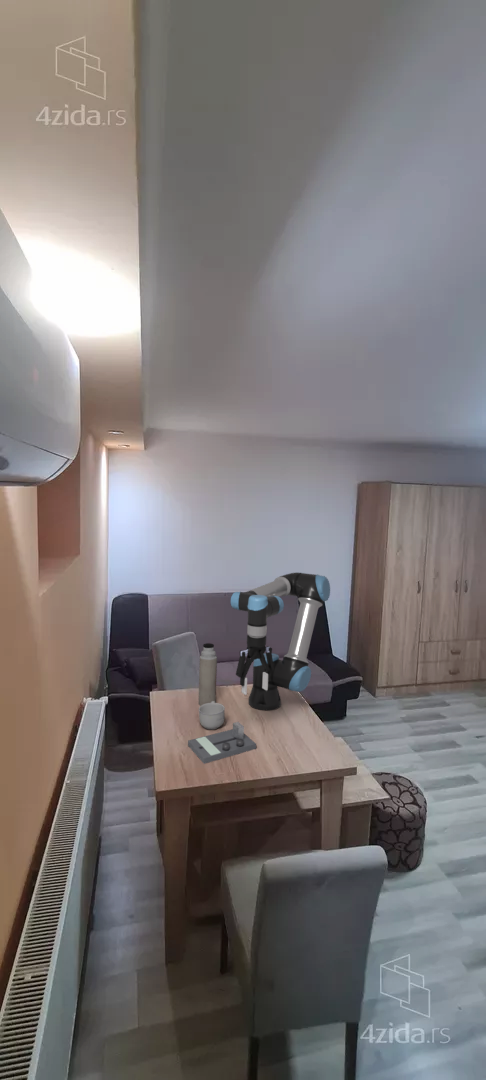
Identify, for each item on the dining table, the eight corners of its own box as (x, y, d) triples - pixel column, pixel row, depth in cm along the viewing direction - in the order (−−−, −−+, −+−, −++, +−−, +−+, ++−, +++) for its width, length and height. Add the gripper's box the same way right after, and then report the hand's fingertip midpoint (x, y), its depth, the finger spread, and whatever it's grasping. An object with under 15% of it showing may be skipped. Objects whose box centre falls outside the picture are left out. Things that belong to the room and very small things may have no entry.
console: (237, 732, 188) (237, 723, 188) (256, 748, 176) (256, 739, 176) (187, 745, 177) (188, 735, 176) (203, 763, 165) (204, 753, 164)
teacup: (220, 734, 186) (221, 714, 186) (194, 730, 189) (195, 711, 188) (228, 718, 200) (229, 700, 199) (204, 715, 202) (204, 697, 202)
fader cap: (237, 733, 182) (238, 721, 182) (243, 739, 178) (243, 726, 178) (232, 735, 181) (232, 722, 181) (238, 740, 177) (238, 727, 177)
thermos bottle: (216, 700, 218) (217, 642, 216) (215, 707, 210) (216, 647, 208) (199, 699, 218) (200, 641, 216) (197, 706, 210) (199, 646, 208)
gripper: (274, 629, 189) (272, 683, 191) (227, 635, 178) (225, 692, 180) (284, 634, 183) (282, 689, 184) (237, 641, 171) (235, 700, 173)
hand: (254, 691), depth 182 cm, fingers open, 9 cm apart
